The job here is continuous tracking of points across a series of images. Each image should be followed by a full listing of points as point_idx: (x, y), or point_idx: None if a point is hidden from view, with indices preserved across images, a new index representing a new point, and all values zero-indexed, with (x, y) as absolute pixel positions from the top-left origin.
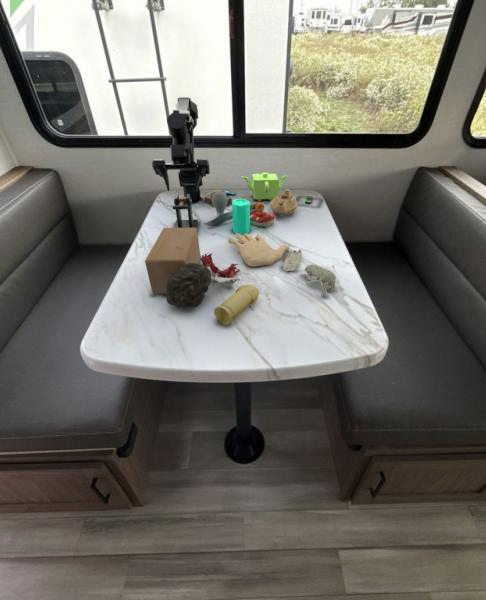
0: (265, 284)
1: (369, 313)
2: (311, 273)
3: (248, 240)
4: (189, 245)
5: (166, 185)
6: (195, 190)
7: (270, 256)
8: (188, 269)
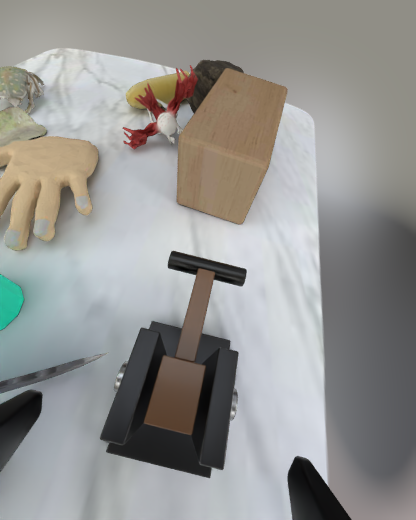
0: (101, 121)
1: (23, 62)
2: (26, 81)
3: (36, 198)
4: (211, 89)
5: (340, 509)
6: (40, 408)
7: (43, 138)
8: (220, 63)
